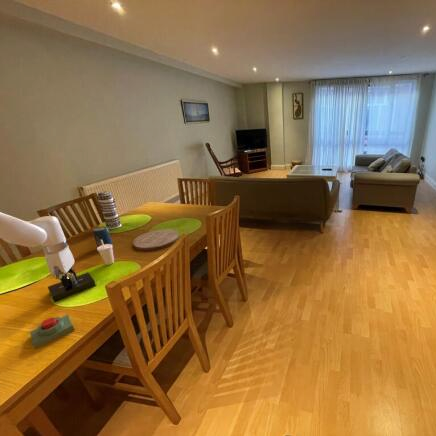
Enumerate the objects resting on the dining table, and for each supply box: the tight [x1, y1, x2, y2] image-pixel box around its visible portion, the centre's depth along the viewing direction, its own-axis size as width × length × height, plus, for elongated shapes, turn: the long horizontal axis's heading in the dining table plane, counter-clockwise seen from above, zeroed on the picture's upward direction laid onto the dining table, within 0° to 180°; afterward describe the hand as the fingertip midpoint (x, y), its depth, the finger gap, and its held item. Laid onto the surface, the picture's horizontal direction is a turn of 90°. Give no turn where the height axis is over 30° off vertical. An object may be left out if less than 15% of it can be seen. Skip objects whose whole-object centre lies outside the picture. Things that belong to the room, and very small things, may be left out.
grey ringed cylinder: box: [96, 190, 122, 230], centre depth 163 cm, size 9×9×25 cm
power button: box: [40, 317, 57, 329], centre depth 82 cm, size 4×4×2 cm
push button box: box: [29, 314, 76, 350], centre depth 83 cm, size 10×8×4 cm
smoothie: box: [96, 240, 115, 266], centre depth 122 cm, size 6×6×14 cm
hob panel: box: [47, 271, 97, 303], centre depth 105 cm, size 14×10×3 cm
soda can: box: [92, 226, 113, 248], centre depth 138 cm, size 7×7×12 cm
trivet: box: [132, 228, 180, 252], centre depth 148 cm, size 25×25×2 cm
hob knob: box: [63, 272, 77, 285], centre depth 104 cm, size 4×4×5 cm
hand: (70, 282), depth 104 cm, fingers closed on hob knob, 3 cm apart
